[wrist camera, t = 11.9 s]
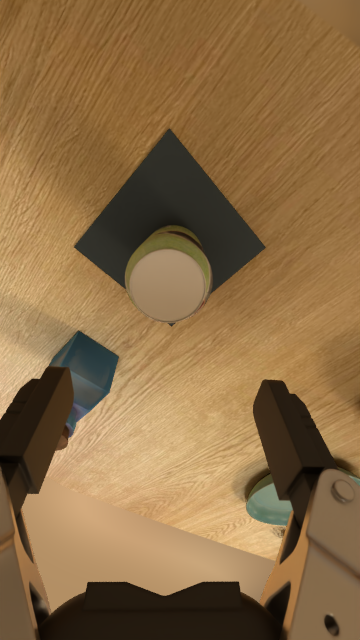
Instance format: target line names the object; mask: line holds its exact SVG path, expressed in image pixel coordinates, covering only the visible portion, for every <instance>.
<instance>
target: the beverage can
mask: <svg viewBox="0 0 360 640" xmlns="http://www.w3.org/2000/svg"><path fill="white" fill-rule="evenodd" d="M212 283H213V277H212V270H211V267H210V264H209V261H208V259H207V257H206V255H205V252H204V250H203V248H202V245H201V243H200V241H199V239H198V238H197V237H196V235H195V234H194V233H193V232H191V231H190V230H188V229H187V228H184V227H182V226H178V225H169V226H164V227H161V228H159V229H158V230H156V231H155V232H154V233H152V234H151V235H150V236H149V237H148V238H147V239H146V240H145V241H144V242H143V243H142V244H141V245H140V246H139V247H138V248H137V250H136V251H135V252H134V253H133V254H132V256H131V258H130V260H129V261H128V264H127V267H126V272H125V286H126V290H127V293H128V296H129V298H130V300H131V301H132V303H133V304H134V306H135V307H136V308H137V309H138V310H139V311H140V312H141V313H143V314H144V315H145V316H146V317H148V318H150V319H152V320H154V321H157V322H162V323H176V322H180V321H183V320H186V319H188V318H190V317H192V316H193V315H195V314H196V313H198V312H199V311H200V310H201V309H202V308H203V306H204V305H205V304H206V302H207V300H208V298H209V296H210V293H211V290H212Z"/></svg>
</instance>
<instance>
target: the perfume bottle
mask: <svg viewBox="0 0 360 640" xmlns="http://www.w3.org/2000/svg"><path fill="white" fill-rule="evenodd" d="M118 358H119V357H118V356H117V355H115V354H114V353H112V352H111V351H109V350H108V349H106V348H105V347H103V346H101V345H100V344H98V343H97V342H95V341H94V340H92V339H91V338H89V337H88V336H86V335H85V334H83V333H81V332H80V331H78V332H77V333H76V334H75V335H74V336H73V338H72V339H71V340H70V341H69V342H68V343H67V344H66V345H65V346H64V347H63V348H62V349H61V350H60V351H59V352H58V353H57V355H56V356H55V357H54V358H53V359H52V361H51V363H50V364H49V366H57V367H69V368H70V372H71V378H72V384H73V389H74V401H73V406H72V409H71V412H70V414H69V417H68V419H67V422H66V424H65V427H64V430H63V432H62V435H61V437H60V440H59V442H58V445H57V448H56V450H55V451H57V450H62V449H64V448H66V446H67V445H68V438H69V437H71V436H72V435H73V433H74V430H75V427H76V422H78V421H79V420H80V419H81V418H82V417H84V416H85V415H86V414H87V413H88V412H90V411H91V410H92V409H93V408H94V407H95V406H96V405H97V404H98V403H99V402H100V401H101V400H102V399H103V398H104V397H105V396H106V395H107V394H109V392H110V388H111V384H112V381H113V377H114V373H115V369H116V366H117V362H118Z"/></svg>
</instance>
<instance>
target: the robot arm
mask: <svg viewBox="0 0 360 640" xmlns="http://www.w3.org/2000/svg"><path fill="white" fill-rule="evenodd" d="M73 401H74V389H73V384H72V378H71V372H70V368H69V367H57V366H48V367H47V368H46V369H45V371H44V373H43V375H42V376H41V378H40V379H31V380H30V381H29V382H28V383H26V384H25V385H24V386H23V387H22V388H20V390H19V391H18V393H17V394H16V396H15V398H14V399H13V402H12V403H11V404H10V405H9V407H8V409H7V410H6V413H4V415H3V416H2V418H1V420H0V640H360V486H359V485H358V484H357V483H356V482H355V481H354V480H353V479H352V478H351V477H350V476H348V475H347V474H345V473H343V472H341V471H340V470H339V469H338V467H337V465H336V463H335V461H334V459H333V458H332V456H331V454H330V452H329V450H328V448H327V446H326V444H325V442H324V440H323V438H322V436H321V434H320V432H319V430H318V429H317V428H316V425H315V423H314V421H313V419H312V418H311V415H310V413H309V411H308V409H307V407H306V405H305V404H304V403H303V402H302V401H301V400H300V399H299V398H298V397H297V395H296V394H290V393H289V391H288V389H287V387H286V385H285V383H284V382H283V381H282V380H263V381H262V383H261V386H260V388H259V391H258V393H257V396H256V398H255V401H254V404H253V415H254V419H255V423H256V426H257V429H258V433H259V436H260V439H261V443H262V446H263V449H264V452H265V456H266V459H267V462H268V466H269V469H270V472H271V476H272V479H273V482H274V486H275V489H276V492H277V496H278V499H279V501H290V502H291V505H292V508H293V510H292V511H291V513H290V517H289V520H288V523H287V526H286V530H285V533H284V536H283V540H282V543H281V546H280V549H279V553H278V556H277V559H276V563H275V565H274V568H273V570H272V572H271V574H270V576H269V578H268V580H267V583H266V585H265V588H264V590H263V593H262V597H261V599H260V603H258V602H257V601H256V600H254V599H253V598H251V597H250V596H247V595H246V594H244V593H242V592H240V586H239V582H201V583H199V584H196V585H194V586H191V587H188V588H186V589H183V590H181V591H178V592H176V593H173V594H171V595H167V596H162V595H159V594H156V593H153V592H151V591H148V590H146V589H143V588H141V587H138V586H135V585H133V584H130V583H128V582H88V583H87V588H86V592H84V593H82V594H79V595H77V596H75V597H73V598H72V599H70V600H68V601H67V602H65V603H64V604H62V605H61V606H60V607H59V608H57V609H56V610H55V611H54V612H53V613H51V609H50V606H49V602H48V598H47V594H46V591H45V587H44V584H43V581H42V578H41V576H40V573H39V571H38V567H37V564H36V561H35V557H34V553H33V549H32V545H31V542H30V538H29V534H28V531H27V526H26V523H25V519H24V515H23V511H22V505H23V503H24V500H25V498H26V496H27V494H39V491H40V489H41V486H42V483H43V481H44V478H45V476H46V473H47V471H48V468H49V466H50V463H51V460H52V458H53V455H54V453H55V450H56V448H57V445H58V442H59V440H60V437H61V435H62V432H63V430H64V427H65V424H66V422H67V419H68V417H69V414H70V412H71V409H72V406H73Z"/></svg>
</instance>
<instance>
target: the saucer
mask: <svg viewBox="0 0 360 640" xmlns="http://www.w3.org/2000/svg"><path fill="white" fill-rule="evenodd" d="M338 469H339V470H340V471H341V472H343V473H345V474H347V475H348V476H350V477H351V478H352V479H353V480H354V481H355V482H356V483H357V484H358V485H359V486H360V478H359V477H357V476H356V475H354V474H353V473H351V472H349V471H347V470H344V469H342V468H339V467H338ZM246 510H247V512H248V514H249V515H250V516H251V517H252V518H254V519H256V520H258V521H260V522H263V523H267V524H272V525H281V526H287V523H288V520H289V517H290V513H291V511H292V510H293V508H292V505H291V502H290V501H279V499H278V496H277V492H276V489H275V486H274V482H273V479H272V476H271V474H269V475H267V476H266V477H264V478H263V479H262V480H260V481H259V482H258V483H257V484H256V485H255V487H254V488H253V489H252V491H251V492H250V494H249V497H248V499H247V504H246Z"/></svg>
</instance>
